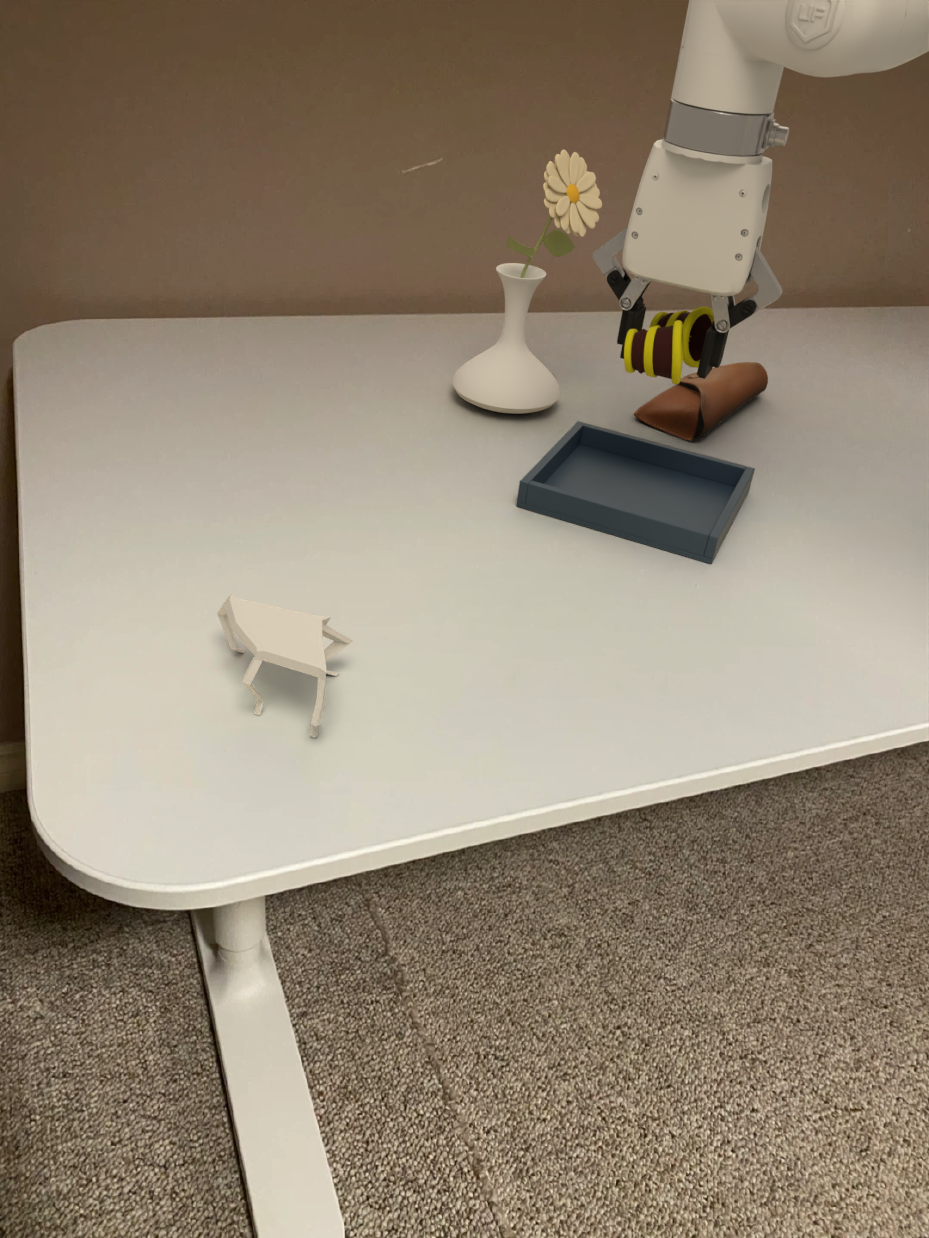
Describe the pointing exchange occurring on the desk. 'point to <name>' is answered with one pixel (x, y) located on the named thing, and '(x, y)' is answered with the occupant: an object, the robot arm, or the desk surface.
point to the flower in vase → (509, 367)
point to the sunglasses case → (703, 400)
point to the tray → (638, 490)
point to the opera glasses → (668, 343)
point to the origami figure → (282, 643)
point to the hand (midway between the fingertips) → (666, 361)
